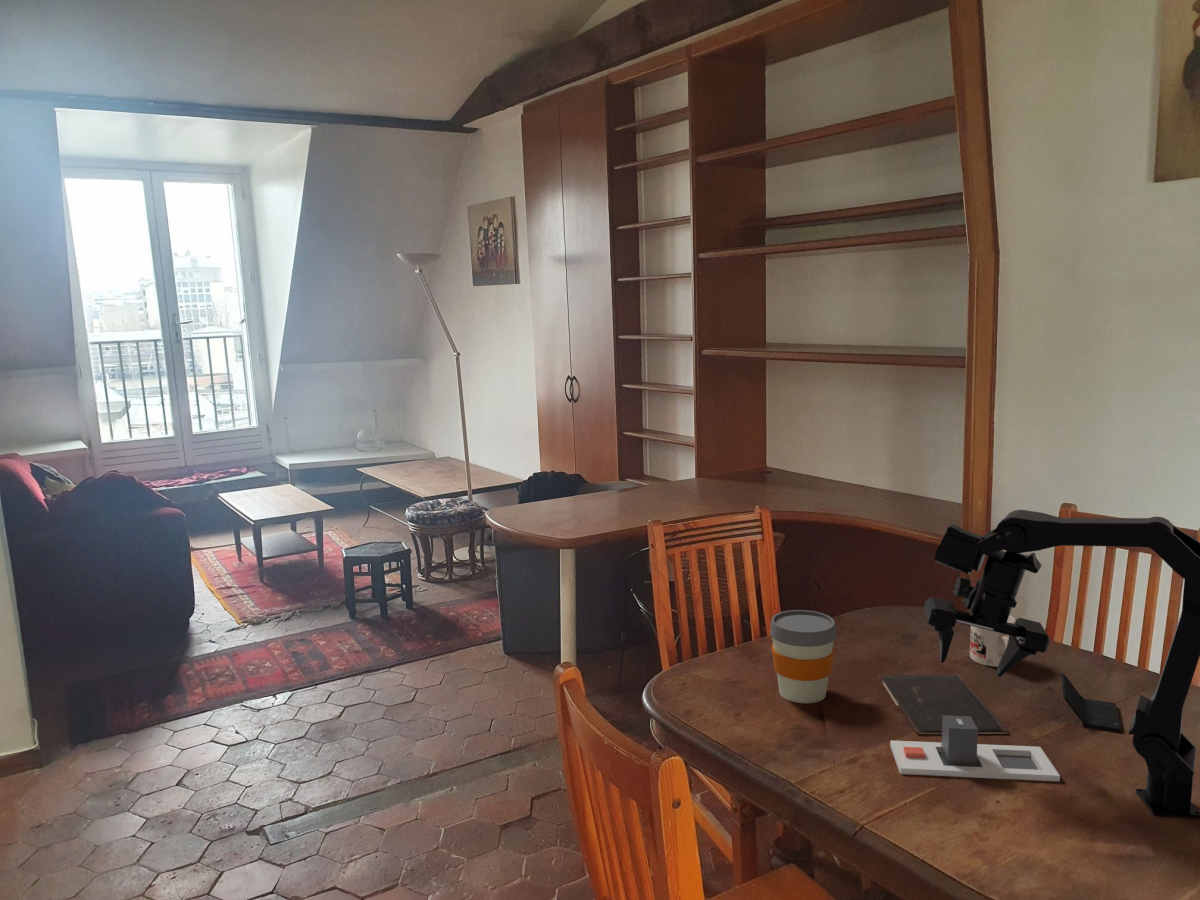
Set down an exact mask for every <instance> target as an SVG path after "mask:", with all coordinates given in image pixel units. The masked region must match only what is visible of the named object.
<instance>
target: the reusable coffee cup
mask: <svg viewBox="0 0 1200 900" xmlns="http://www.w3.org/2000/svg"><path fill="white" fill-rule="evenodd" d="M836 632H837V631H836V622H835V619H834V618H833V617H831V616H830V615H827V614H825V613H822V612H819V611H814V610H807V609H806V610H805V609H804V610H803V609H794V610H793V609H792V610H785V611H780V612H778V613H776V614H774V615H773V616H772V618H771V622H770V630H769V634H770V636H771V638H772V644H771V653H772V655H771V656H772V663H773V669H774V671H775V672H776V676H777V683H778V692H779V695H780V696H781V697H782V698H783V699H785V700H787V701H790V702H794V703H796V704H797V703H798V704H813V703H814V704H815V703H818V702H819V703H820V702H821V701H823V700H824V699H825V698H826V696H827V688H828V680H829V676H830V675H831V674H832V669H833V662H834V656H835V647H834V641H835V639H836V638H837V633H836Z"/></svg>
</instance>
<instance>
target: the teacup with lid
mask: <svg viewBox="0 0 1200 900" xmlns="http://www.w3.org/2000/svg"><path fill="white" fill-rule="evenodd" d="M1016 620H1017V619H1016V618H1015V617H1013V616H1012V615H1009V617H1008V620H1007V622H1008V623H1013V624H1015V621H1016ZM969 634H970V639H969V640H970V641H969V657H970V659H971V660H972V661H973V662H975V663H977V664H979V665H983V666H985V667H986V666H987V667H995V668H998V665H999V663H1000V661H1001V658H1002V656H1003V654H1004V652H1005V649H1006V647H1007V645H1008V640H1009V635H1007V634H1003V633H999V632H995V631H991V630H987V629H983V628H978V627H974V626H970V633H969Z"/></svg>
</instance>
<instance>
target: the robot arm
mask: <svg viewBox="0 0 1200 900" xmlns="http://www.w3.org/2000/svg"><path fill="white" fill-rule="evenodd" d="M1062 546H1064V547H1065V546H1067V547H1068V546H1070V547H1071V546H1072V547H1073V546H1074V547H1122V548H1129V547H1130V548H1150V549H1151V550H1152V551H1153V552H1154V553H1156V555H1158V556H1159V557H1160V558H1161V560H1163V561H1164V563H1165V564H1167V565H1168V566H1169V567H1170V568H1171V569H1172V571H1173V572H1174V573H1176V574H1177V575H1179V576H1180V577H1181V578H1182V579H1183V581H1184V583H1183V584H1184V585H1183V593H1182V604H1181V605H1182V606H1181V607H1182V608H1181V613H1180V616H1179V620H1178V623H1177V625H1176V629H1175V631H1174V634H1173V638H1172V641H1171V643H1170V647H1169V650H1168V652H1167V655H1166V659H1165V662H1164V665H1163V668H1162V672H1161V674H1160V678H1159V680H1158V682H1157V683H1158V684H1157V687H1156V689H1155V691H1154V692H1153V694H1152V695H1151V697H1150V698H1148V697H1146V696H1143V695H1142V694H1139V697H1138V702H1137V705H1136V710H1135V713H1134V714H1133V715H1132V718H1131V722H1130V726H1129V731H1128V735H1133V736H1132V747H1133V748H1134V750H1135V751H1136V752H1137V754H1138V755H1139V756H1140V757H1142V758H1143V759H1144V761H1145V763H1146V767H1147V770H1146V771H1147V772H1146V784H1145V785H1146V786H1145V788H1135V793H1136V795H1137V796H1138V797H1139V799H1140V800H1141V801H1142V802H1143V803H1144V805H1145V806H1146V807H1147V808H1148V809H1149V811H1150V812H1151V813H1152V814H1153V815H1154V816H1161V817H1181V818H1198V819H1199V818H1200V810H1199V809H1198V808H1197V807H1196V806H1195V805H1194V804H1193V802H1192V798H1193V797H1192V795H1193V786H1194V785H1193V784H1194V775H1195V767H1196V754H1197V747H1196V746H1195V745H1194V744H1193V743H1192V742H1191V741H1190V740H1189V739H1188V737H1186V736H1185V735H1184V733H1182V726H1183V725H1182V723H1183V713H1184V704H1185V702H1186V699H1187V696H1188V693H1189V691H1190V687H1191V685H1192V681H1193V678H1194V675H1195V672H1196V669H1197V666H1198V663H1199V660H1200V541H1199V540H1197V539H1196V538H1194V537H1193V536H1191V535H1189V534H1188V533H1187V532H1184V531H1183V530H1181V529H1179V528H1178V527H1177V526H1175V525H1174V524H1173V523H1172V522H1171V521H1170V520H1169V519H1167V518H1165V517H1164V516H1151V517H1148V518H1147V517H1143V518H1142V517H1114V518H1113V517H1062V516H1061V517H1060V516H1056V515H1051V514H1049V513H1044V512H1040V511H1033V510H1026V509H1016V510H1013V511H1010V512H1009V513H1008V514H1007V515H1006V516H1005V517H1004V518H1003V519H1001V521H1000V522H999V523H997V526H996V527H995V528H994V529H993V530H988V531H987V533H986V534H985V535H983V536H982V535H980V534H977V533H974V532H972V531H969V530H966V529H964V528H961V527H960V526H958V525H956V524H950V525H949V526H947V528H946V531H945V534H944V535H943V537H942V539H941V542H940V544H939V545H938V546H937V548H936V551H935V554H934V555H935V556H934V562H935V563H937V564H940V565H943V566H945V567H947V568H951V569H953V570H956V571H958V572H960V573H963V574H966V575H971V574H972V573H973V571H976V572H979V571H981V568H982V565H983V563H984V561H985V558H986V556H988V557H987V559H986V563H985V565H984V568H983V571H982V575H981V577H980V580H979V579H977V582H976V583H975V586H974V585H972V584H971V583H972V580H971V579H967V578H964V577H959V576H957V578H956V580H955V583H954V587H953V592H952V593H953V595H954V596H956V597H960V598H962V603H964V604H965V608H966V609H967V610H969V612H967V611H964V610H963V611H962V610H958V609H956V608H955V606H954V603H953V602H952V601H951V600H946V599H943V598H938V597H935V596H931V597H928V598H927V599H926V600H925V602H924V605H923V609H922V611H923V613H924V617H925V618H926V621H927V623H928V625H930V626H932V627H933V629H934V630H935V631H936V632H937V633H938V645H939V646H938V647H939V661H940V663H942V664H943V663H945V661H946V659H947V657H948V654H949V650H950V648H951V644H952V642H953V641H952V640H953V638H954V635H955V632H954V630H953V628H955V626H956V623H959V624H962V625H966V626H970V627H971V626H974V627H978V628H983V629H987V630H991V631H995V632H999V633H1003V634H1007V635H1009V640H1008V645H1007V647H1006V649H1005V652H1004V654H1003V656H1002V658H1001V661H1000V663H999V665H998V667H997V669H996V673H995V675H996V676H997V677H998V678H1001V677H1002V676H1003V675H1004V674H1005V673H1007V672H1009V670H1011V669H1012V668H1013V667H1014V666H1016V665H1017V664H1018V663H1019V662H1021V661H1023V660H1025V658H1027V657H1030V656H1031V655H1032V656H1036V655H1037V654H1038V652H1040V653H1043V654H1045V653H1047V651H1048V649H1049V647H1050V643H1051V639H1050V637H1049V635H1048V632H1047V631H1046V630H1045V629H1044V626H1043V625H1042V623H1041V622H1039V621H1035V620H1031V619H1028V618H1022V617H1018V618H1017V619H1015V620H1016V621H1015V624H1013V623H1008V622H1007V620H1008V617H1009V615H1010V614H1011V612H1012V609H1014V608H1016V606H1017V604H1018V601H1017V600H1016V598H1017V595H1018V592H1019V589H1020V587H1021V584H1022V580H1023V579H1024V576H1025V572H1026V571H1027V572H1030V573H1034V574H1038V573H1039V571H1040V569H1041V568H1042V567H1043V566H1042V563H1041V561H1039V559H1037V556H1036V553H1035V552H1037V551H1042V550H1047V549H1050V548H1051V549H1052V548H1057V547H1062ZM1030 552H1031V553H1030ZM1024 553H1029V554H1024ZM1010 616H1011V615H1010Z"/></svg>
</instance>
